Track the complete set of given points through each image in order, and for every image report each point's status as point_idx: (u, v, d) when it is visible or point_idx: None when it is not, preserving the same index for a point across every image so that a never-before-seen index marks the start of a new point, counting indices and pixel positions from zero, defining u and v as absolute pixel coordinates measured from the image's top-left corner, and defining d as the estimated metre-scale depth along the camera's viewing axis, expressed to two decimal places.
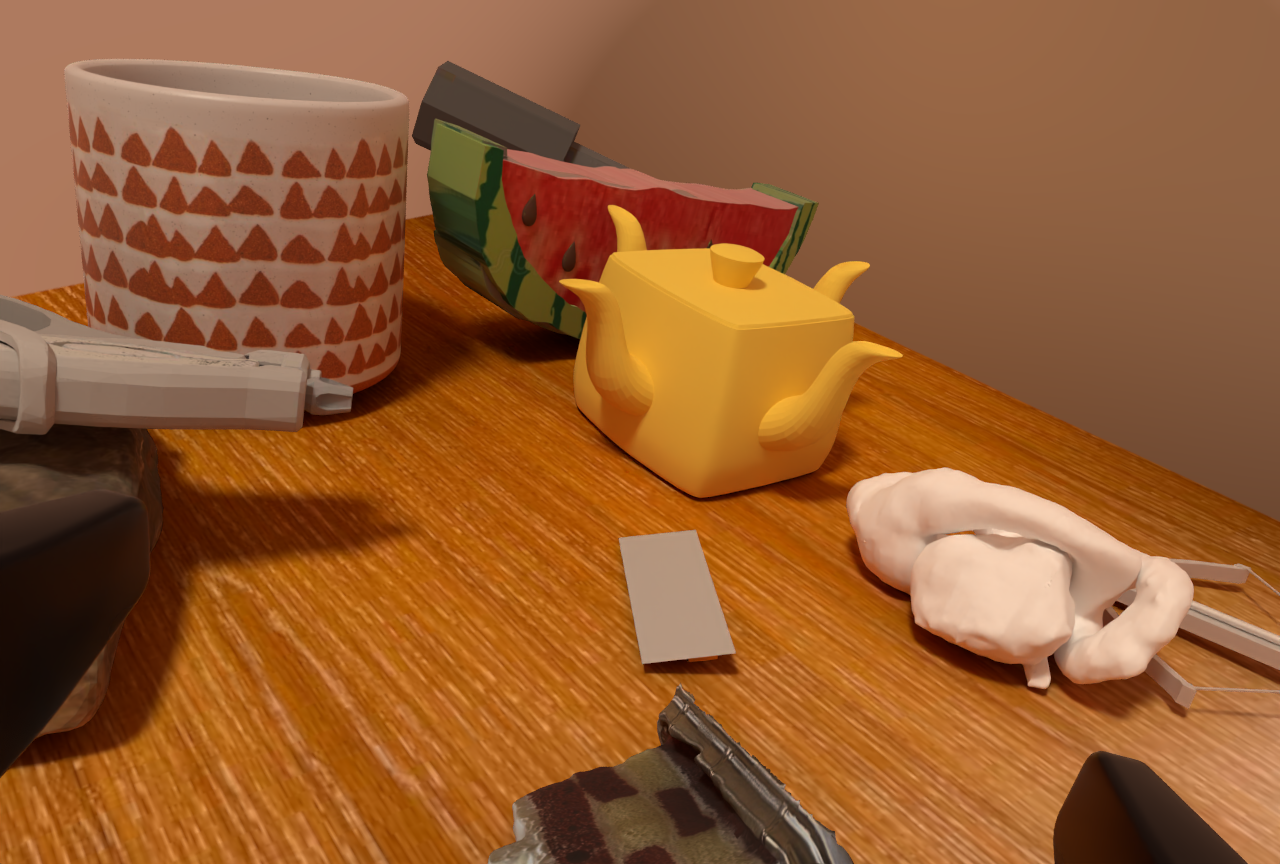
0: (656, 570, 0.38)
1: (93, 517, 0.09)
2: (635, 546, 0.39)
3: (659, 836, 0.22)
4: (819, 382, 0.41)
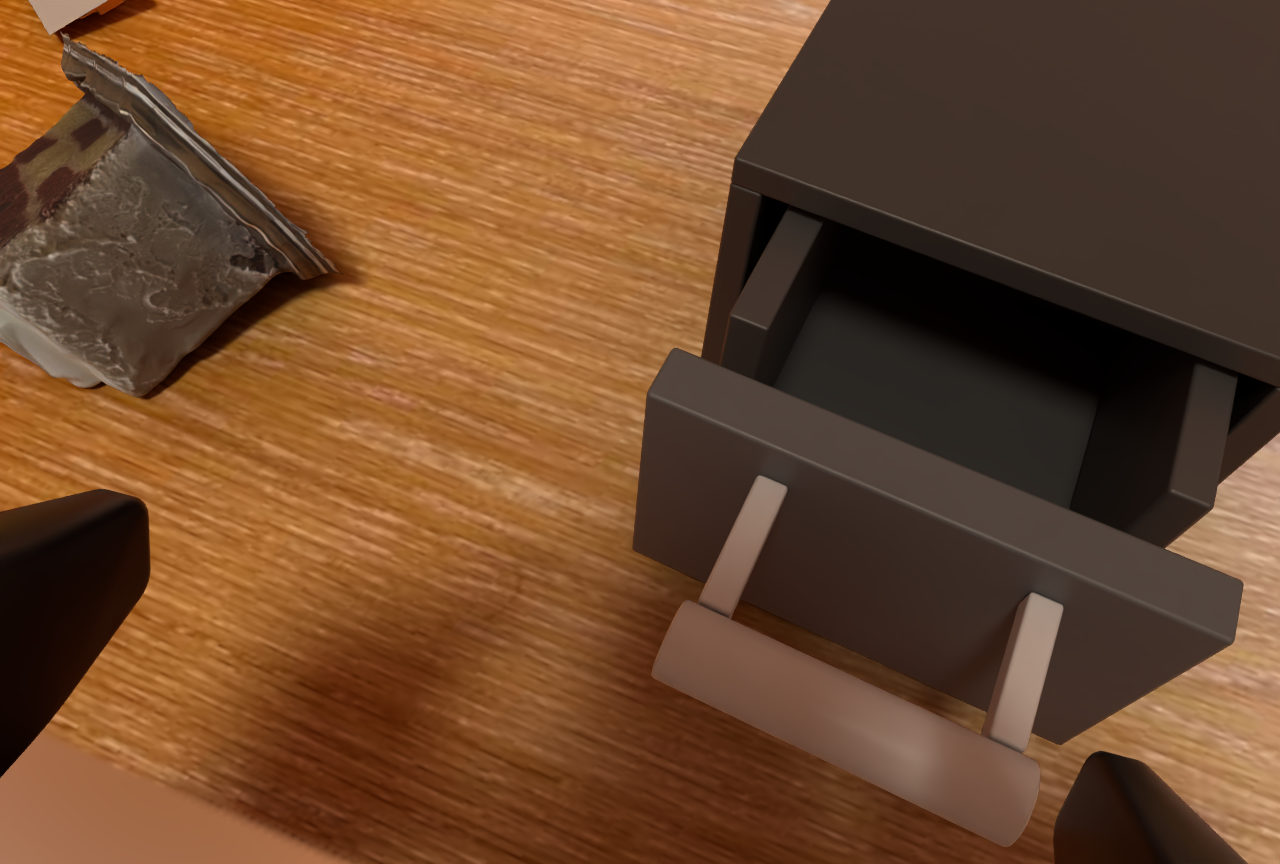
0: None
1: (93, 517, 0.09)
2: None
3: (65, 160, 0.25)
4: None
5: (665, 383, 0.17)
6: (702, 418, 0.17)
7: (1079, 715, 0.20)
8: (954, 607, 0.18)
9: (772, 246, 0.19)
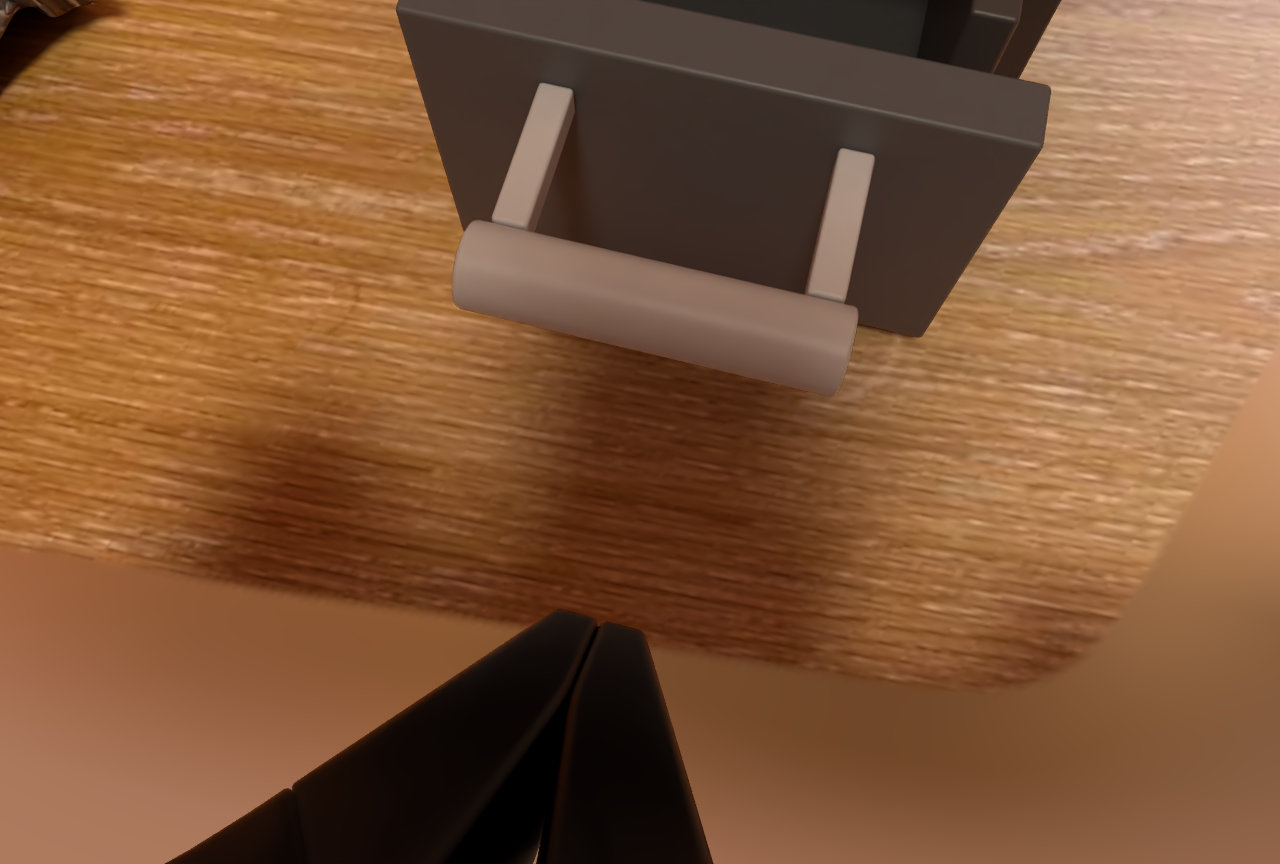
0: None
1: (582, 646, 0.08)
2: None
3: None
4: None
5: None
6: (459, 23, 0.15)
7: (927, 293, 0.19)
8: (777, 196, 0.18)
9: None
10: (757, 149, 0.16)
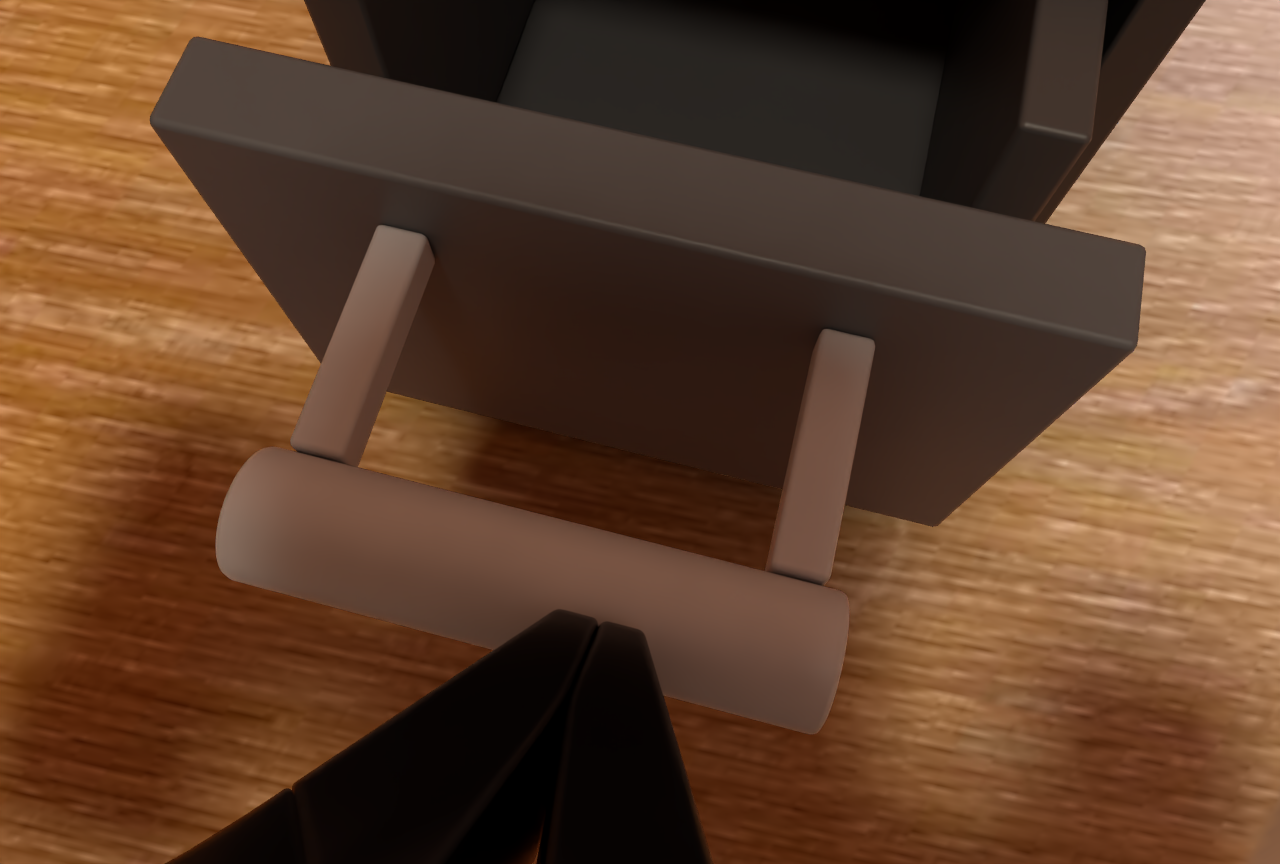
0: None
1: (582, 647, 0.08)
2: None
3: None
4: None
5: (177, 97, 0.10)
6: (244, 144, 0.10)
7: (947, 488, 0.14)
8: (735, 374, 0.12)
9: None
10: (701, 321, 0.11)
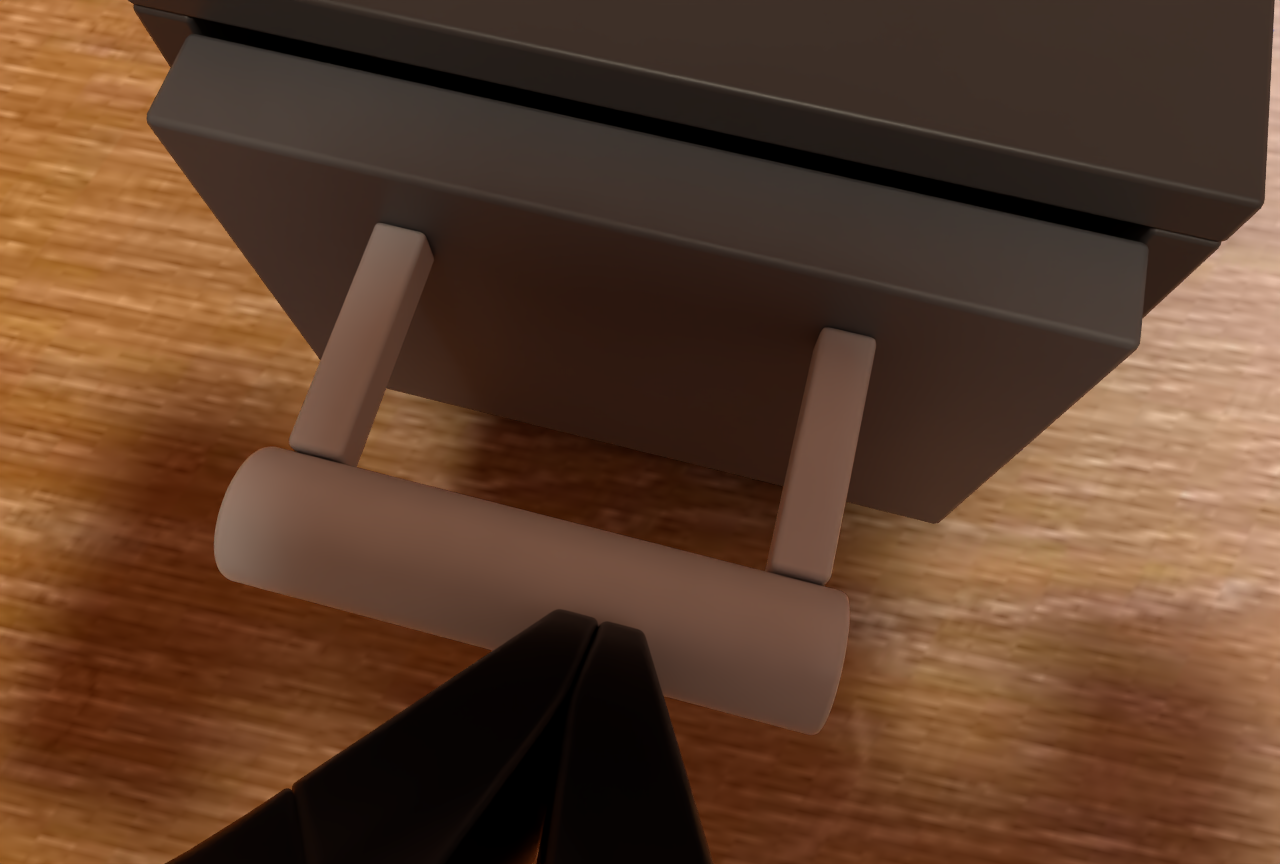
0: None
1: (582, 647, 0.08)
2: None
3: None
4: None
5: (173, 95, 0.10)
6: (241, 143, 0.10)
7: (948, 485, 0.14)
8: (735, 372, 0.12)
9: None
10: (701, 319, 0.11)
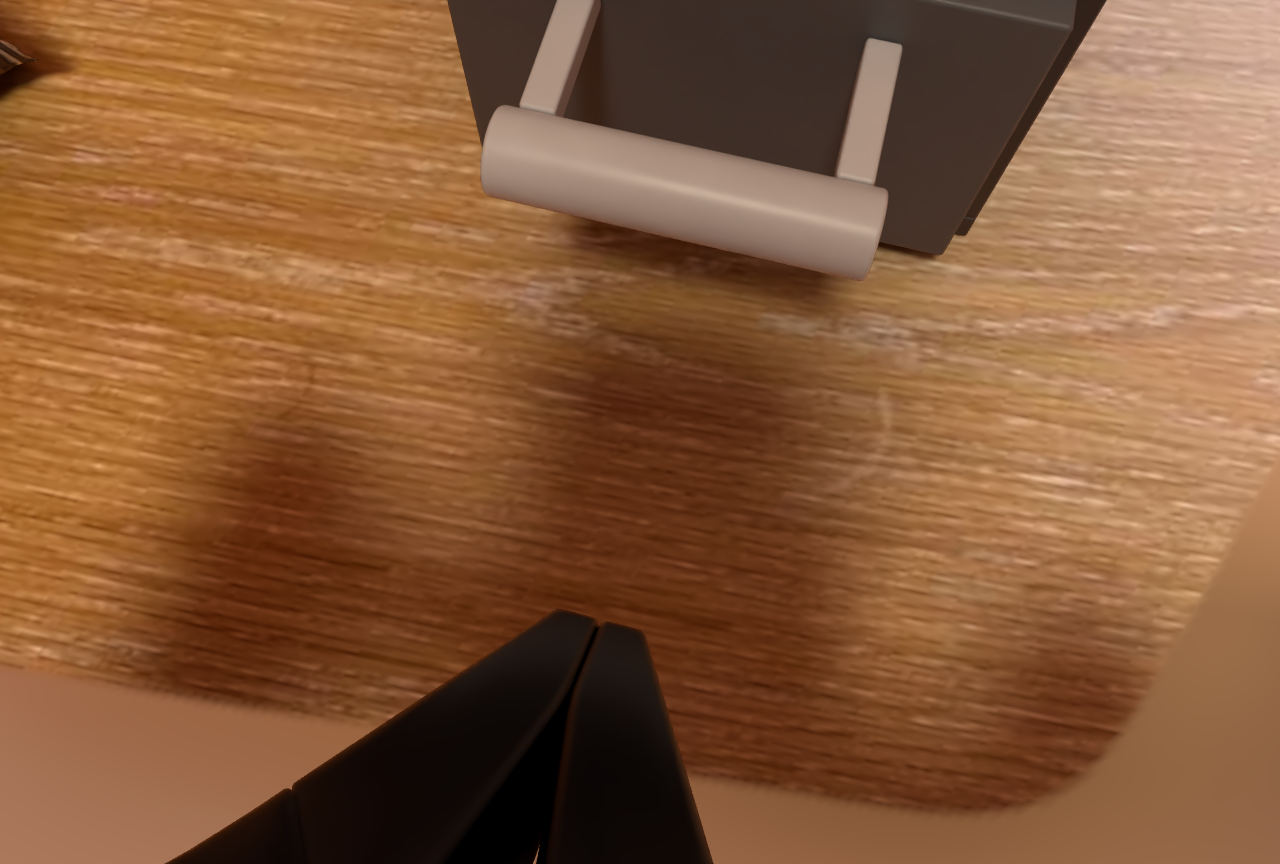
0: None
1: (582, 646, 0.08)
2: None
3: None
4: None
5: None
6: None
7: (949, 203, 0.19)
8: (802, 97, 0.17)
9: None
10: (783, 43, 0.16)
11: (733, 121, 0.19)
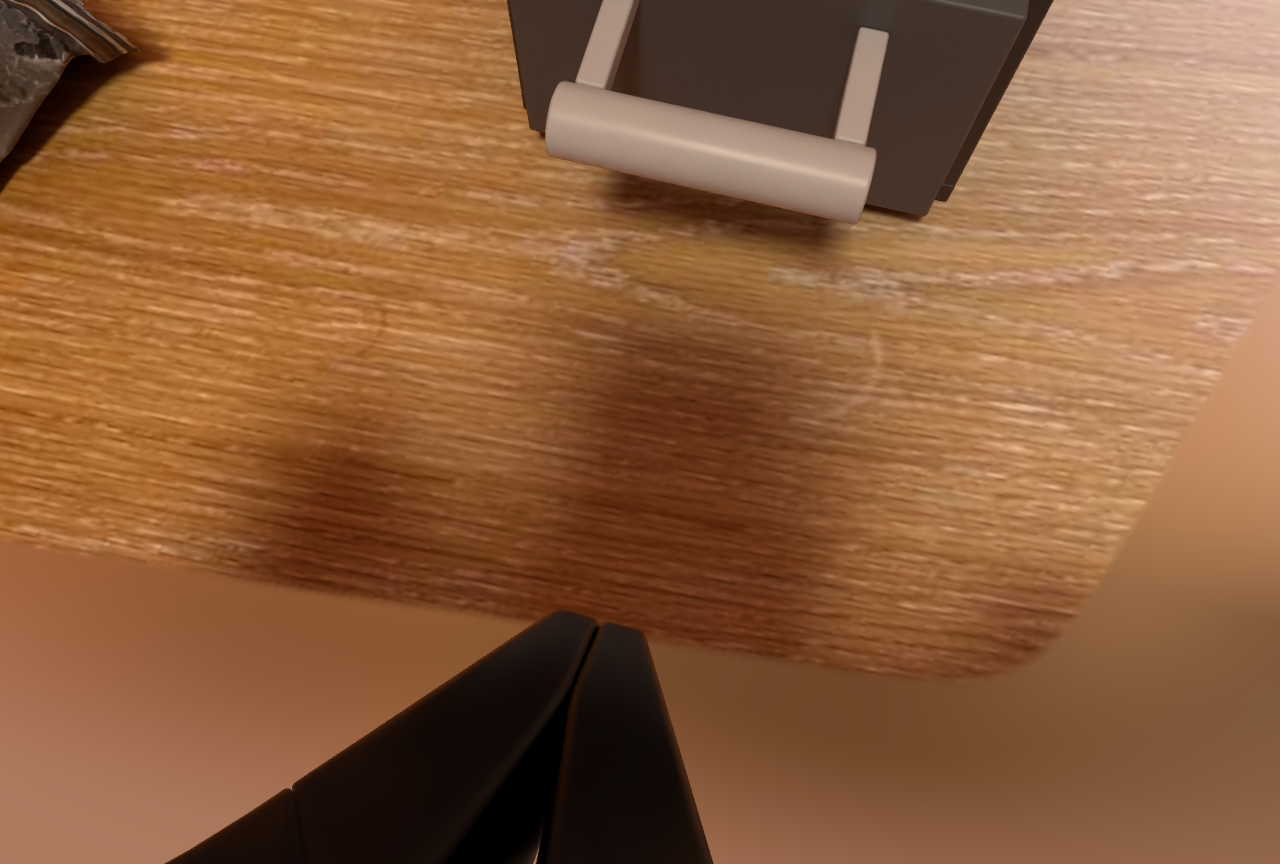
0: None
1: (582, 646, 0.08)
2: None
3: None
4: None
5: None
6: None
7: (930, 169, 0.23)
8: (805, 78, 0.21)
9: None
10: (791, 32, 0.20)
11: (747, 99, 0.22)
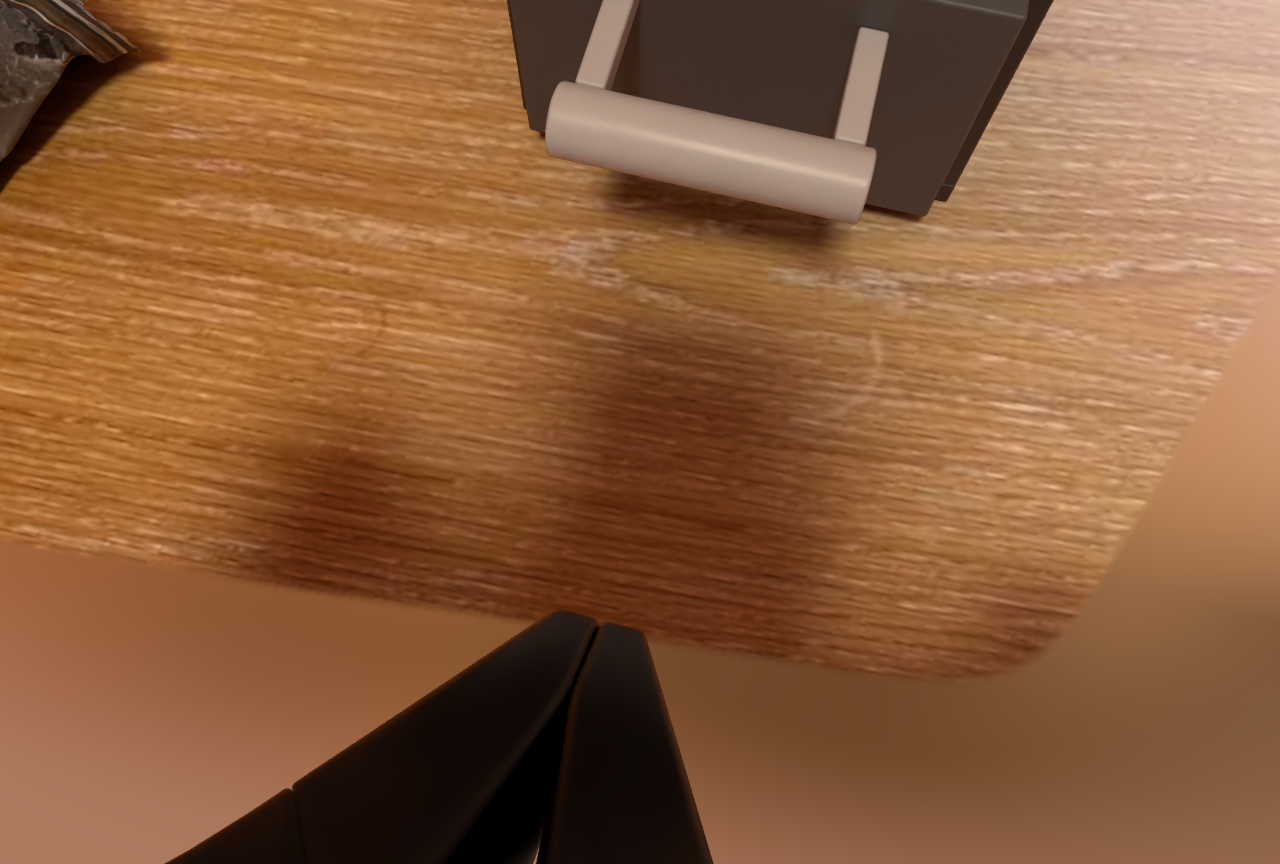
0: None
1: (582, 646, 0.08)
2: None
3: None
4: None
5: None
6: None
7: (930, 169, 0.23)
8: (805, 78, 0.21)
9: None
10: (791, 32, 0.20)
11: (747, 99, 0.22)
